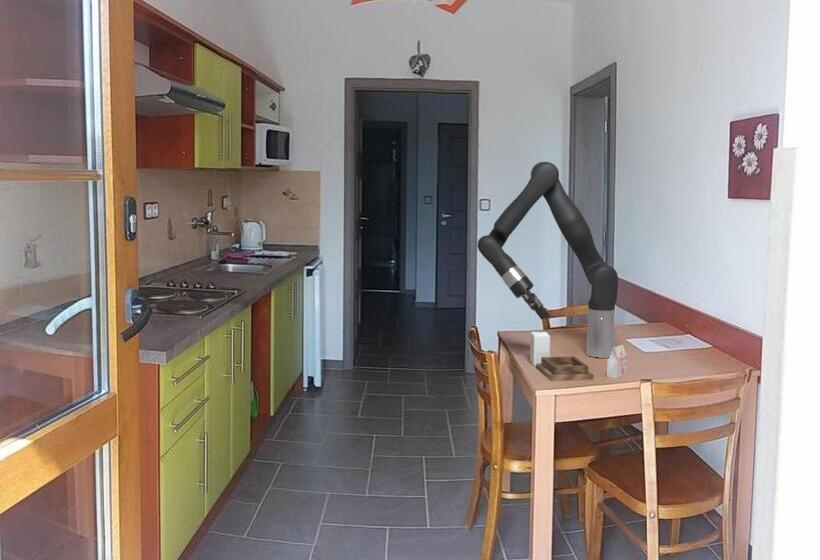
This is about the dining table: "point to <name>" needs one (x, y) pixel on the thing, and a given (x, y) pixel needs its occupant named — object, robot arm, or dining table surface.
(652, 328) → the dining table surface
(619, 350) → the milk carton
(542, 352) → the small box
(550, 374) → the walnut cradle
